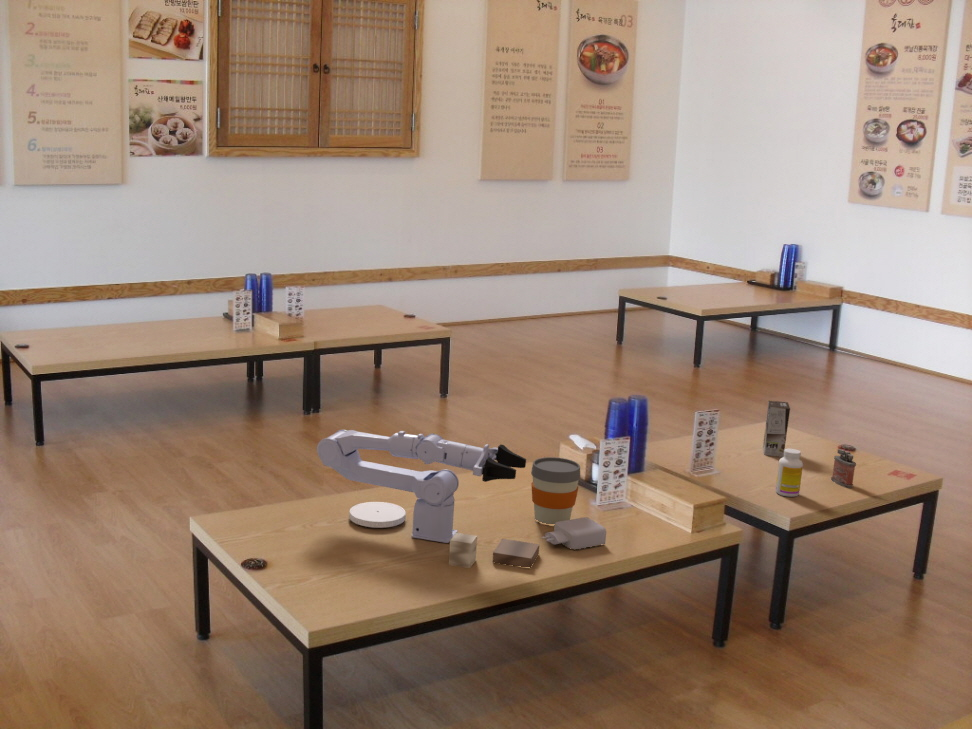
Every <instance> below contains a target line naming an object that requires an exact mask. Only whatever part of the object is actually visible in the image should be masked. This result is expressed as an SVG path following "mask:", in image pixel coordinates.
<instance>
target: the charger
mask: <svg viewBox="0 0 972 729" xmlns="http://www.w3.org/2000/svg"><path fill="white" fill-rule="evenodd" d="M553 529H554V530H553V531H550V532H545V534H544V536H542V537H541V539H543V540H544V539H545V541H546V542H549V543H551V545H558V544H559V545H560V544H561V543H562V544H561V545H563V544H564V545H565V546H564V545H563V546H564V547H566V546H567V547H566V548H568V547H569V548H571V549H570V550H572V549H579V550H582V549H581V548H584V549H587V548H586V547H590V548H592V547H591V546H595V547H597V546H596V545H601V544H605V545H606V541H607V539H606V538H607V529H606V528H605V527H604V525H602V524H600V523H598V522H596V521H595V520H593V519H591V518H589V517H587V516H585V517H580V518H579V517H578V518H574V519H573V518H572V519H570V520H566V521H559V522H556V523H555V525H554V527H553ZM601 546H602V545H601ZM569 548H568V549H569Z"/></svg>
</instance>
